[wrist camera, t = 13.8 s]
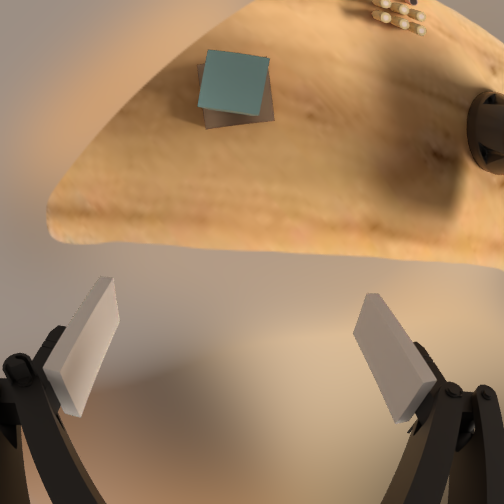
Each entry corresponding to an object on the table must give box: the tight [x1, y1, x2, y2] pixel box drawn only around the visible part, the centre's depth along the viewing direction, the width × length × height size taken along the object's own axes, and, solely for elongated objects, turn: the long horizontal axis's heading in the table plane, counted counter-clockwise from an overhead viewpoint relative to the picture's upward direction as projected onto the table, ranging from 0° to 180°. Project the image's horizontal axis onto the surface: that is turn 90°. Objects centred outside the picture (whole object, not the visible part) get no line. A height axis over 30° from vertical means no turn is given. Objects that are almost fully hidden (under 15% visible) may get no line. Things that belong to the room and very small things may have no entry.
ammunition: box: [371, 0, 426, 36], centre depth 29 cm, size 5×7×8 cm
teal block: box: [197, 50, 270, 116], centre depth 27 cm, size 5×5×11 cm
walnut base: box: [197, 57, 275, 129], centre depth 34 cm, size 8×8×5 cm
